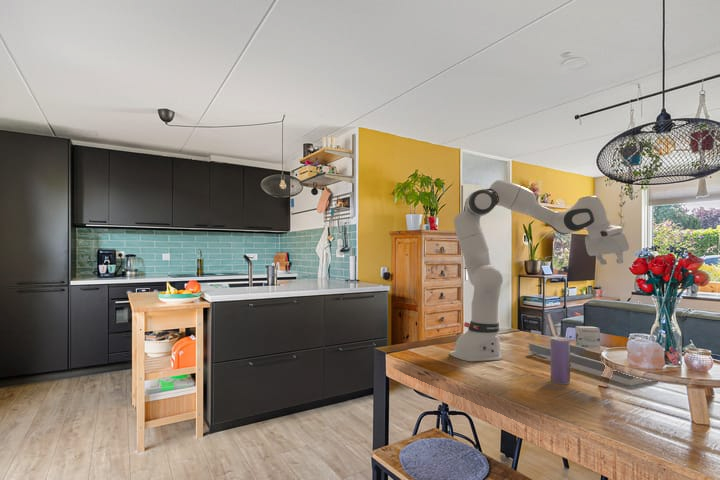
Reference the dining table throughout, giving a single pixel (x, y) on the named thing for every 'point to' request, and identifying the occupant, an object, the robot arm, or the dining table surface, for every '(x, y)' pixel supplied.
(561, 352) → the beverage can
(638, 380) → the trap track
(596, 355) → the walnut block
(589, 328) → the ink box
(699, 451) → the dining table surface
